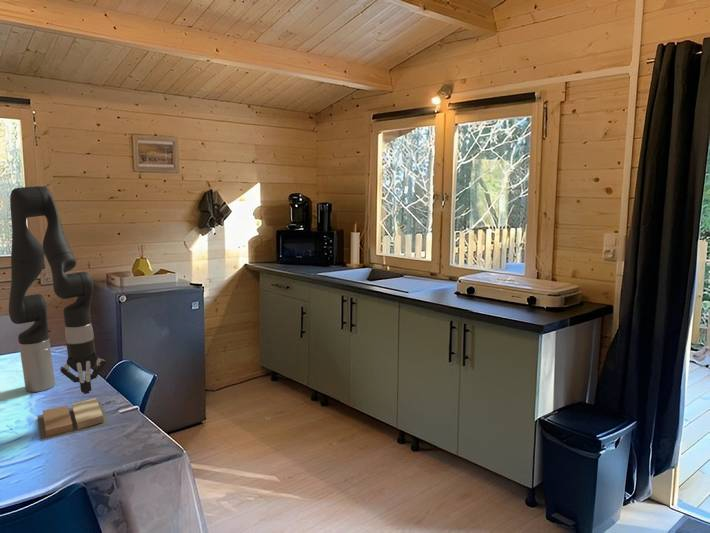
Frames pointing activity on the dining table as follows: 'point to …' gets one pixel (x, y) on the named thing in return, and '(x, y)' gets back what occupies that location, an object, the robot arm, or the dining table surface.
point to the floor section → (63, 422)
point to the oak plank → (87, 413)
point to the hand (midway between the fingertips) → (86, 392)
